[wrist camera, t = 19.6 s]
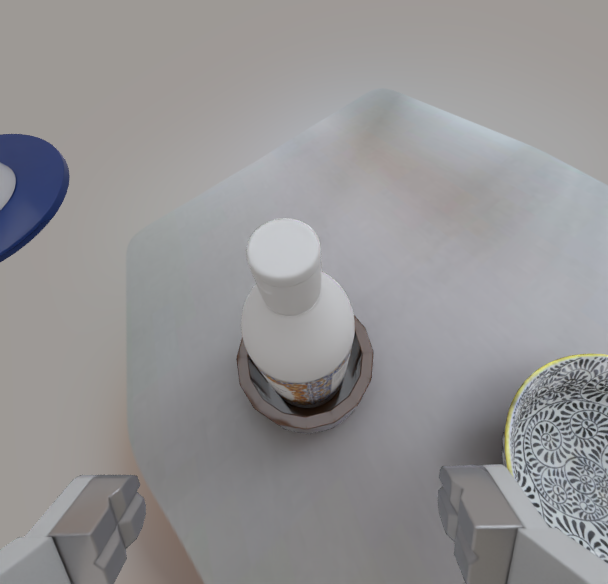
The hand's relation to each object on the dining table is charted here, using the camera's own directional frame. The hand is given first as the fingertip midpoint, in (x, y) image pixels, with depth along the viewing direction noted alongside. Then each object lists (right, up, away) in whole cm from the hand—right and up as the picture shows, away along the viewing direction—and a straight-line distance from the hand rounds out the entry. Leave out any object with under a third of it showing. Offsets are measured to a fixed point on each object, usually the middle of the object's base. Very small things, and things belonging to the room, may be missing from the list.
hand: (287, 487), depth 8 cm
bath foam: (+1, -2, +21) cm, 22 cm away
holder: (+1, -3, +22) cm, 22 cm away
